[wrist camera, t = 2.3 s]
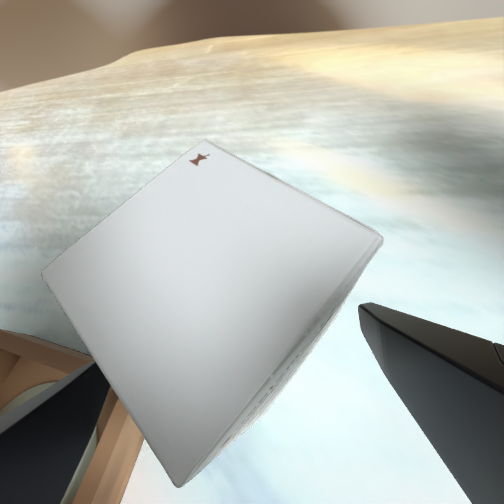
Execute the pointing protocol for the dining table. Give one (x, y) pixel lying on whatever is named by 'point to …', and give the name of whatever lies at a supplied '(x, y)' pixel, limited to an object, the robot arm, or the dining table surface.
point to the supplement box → (208, 298)
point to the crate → (106, 431)
